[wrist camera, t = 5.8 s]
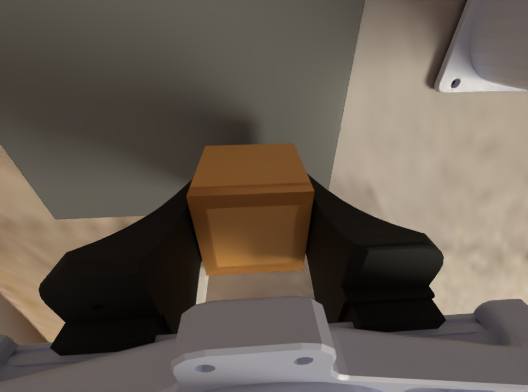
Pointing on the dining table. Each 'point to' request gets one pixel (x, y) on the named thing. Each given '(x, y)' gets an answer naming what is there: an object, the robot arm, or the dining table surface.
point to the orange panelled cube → (251, 208)
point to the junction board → (165, 91)
